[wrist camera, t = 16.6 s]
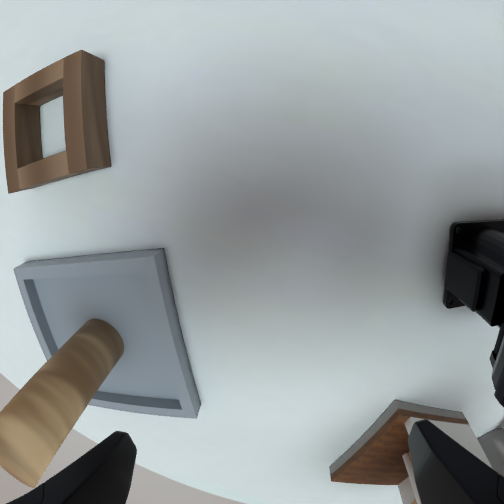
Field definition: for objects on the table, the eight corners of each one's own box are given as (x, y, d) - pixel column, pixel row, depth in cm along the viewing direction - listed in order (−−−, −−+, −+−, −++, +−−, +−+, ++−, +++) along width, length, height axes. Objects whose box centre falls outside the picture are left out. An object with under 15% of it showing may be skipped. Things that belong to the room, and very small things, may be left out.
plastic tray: (163, 248, 20) (153, 256, 18) (200, 403, 24) (196, 418, 22) (26, 262, 21) (13, 268, 19) (75, 389, 25) (67, 400, 23)
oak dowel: (115, 319, 21) (6, 451, 8) (130, 361, 22) (47, 496, 9) (77, 318, 22) (-32, 428, 8) (92, 358, 23) (5, 472, 9)
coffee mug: (473, 470, 27) (491, 514, 18) (434, 475, 27) (452, 527, 17) (529, 409, 23) (559, 453, 14) (499, 408, 23) (533, 462, 13)
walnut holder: (104, 60, 16) (81, 49, 13) (111, 166, 18) (87, 169, 16) (27, 95, 17) (3, 92, 14) (33, 188, 19) (8, 193, 16)
